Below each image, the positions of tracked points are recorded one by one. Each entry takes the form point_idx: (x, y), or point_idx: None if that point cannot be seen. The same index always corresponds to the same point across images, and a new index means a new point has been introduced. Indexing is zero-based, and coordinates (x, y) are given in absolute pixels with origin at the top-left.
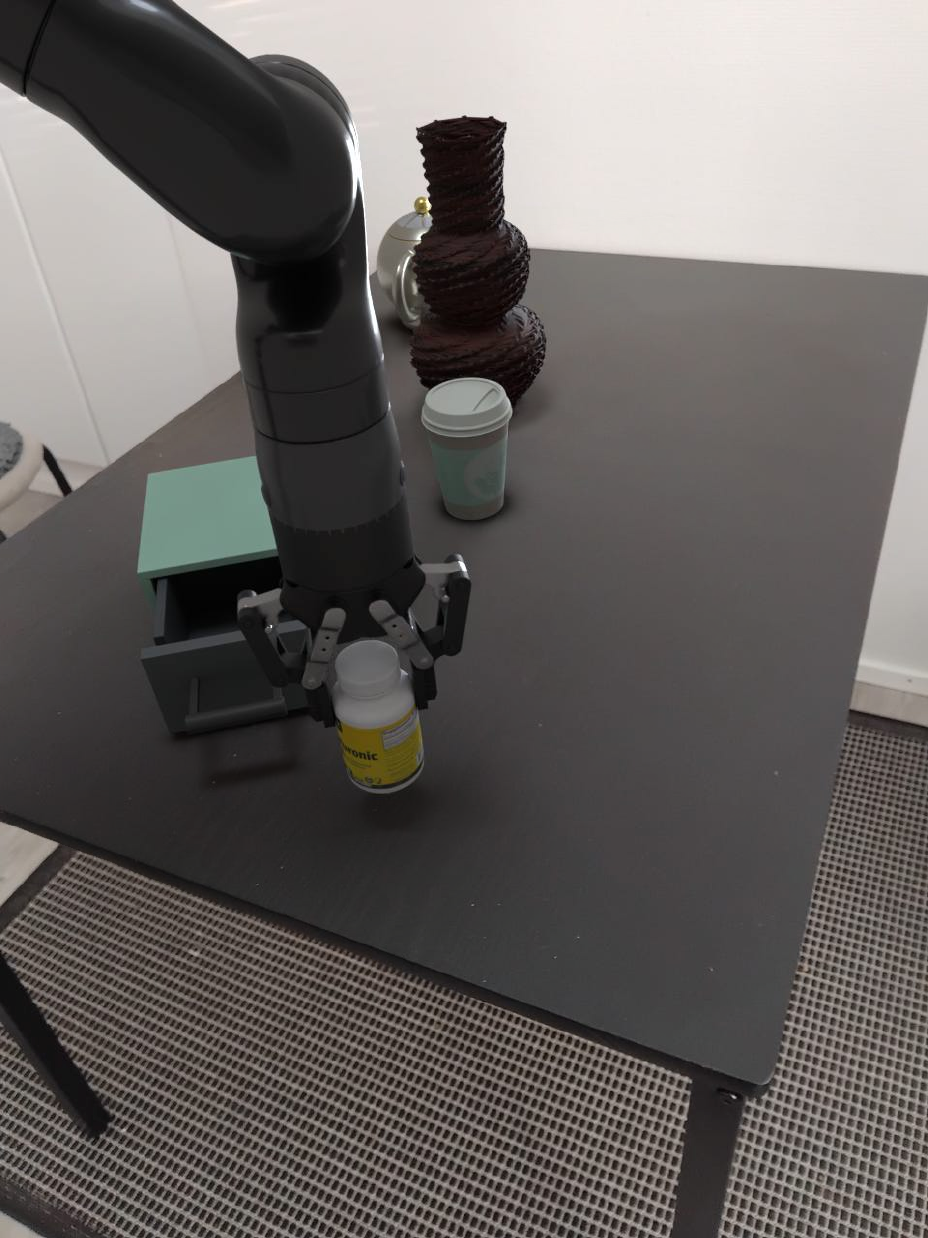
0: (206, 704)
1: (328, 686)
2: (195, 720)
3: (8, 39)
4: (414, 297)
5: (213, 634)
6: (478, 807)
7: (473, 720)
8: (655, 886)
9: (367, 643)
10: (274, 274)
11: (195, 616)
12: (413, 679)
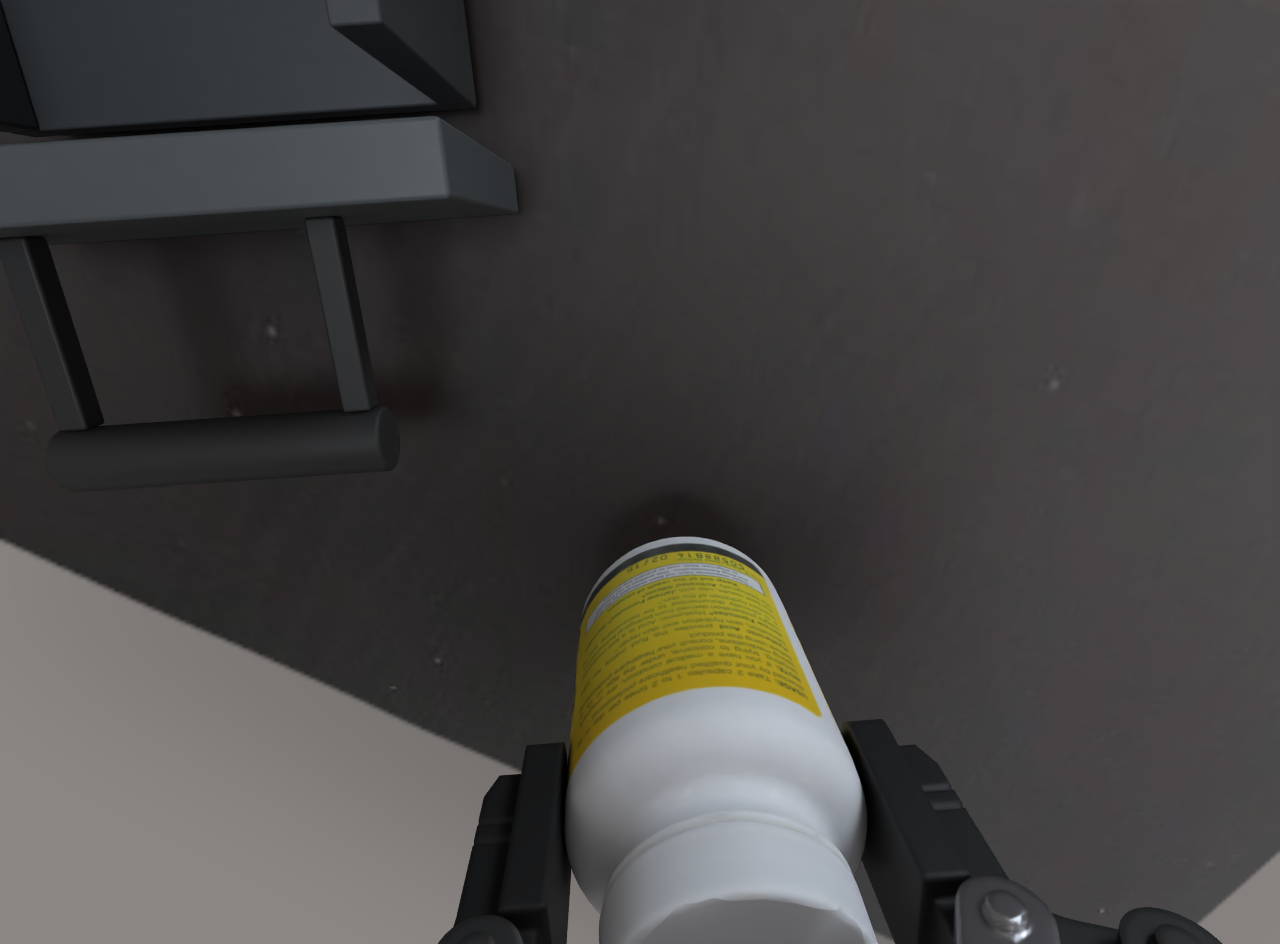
0: (119, 236)
1: (557, 853)
2: (90, 481)
3: None
4: None
5: None
6: (846, 590)
7: (900, 334)
8: (1094, 789)
9: (761, 913)
10: None
11: None
12: (891, 917)
